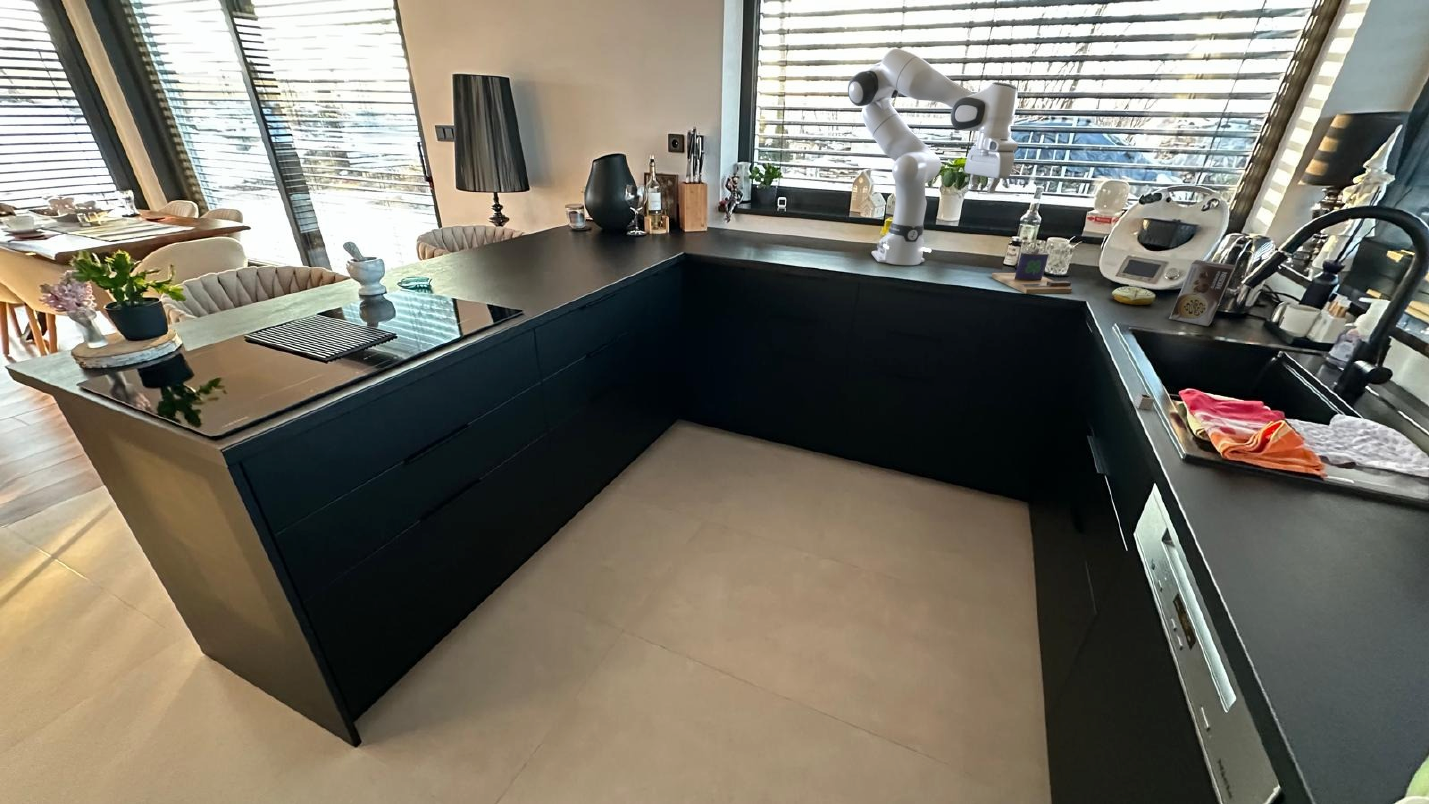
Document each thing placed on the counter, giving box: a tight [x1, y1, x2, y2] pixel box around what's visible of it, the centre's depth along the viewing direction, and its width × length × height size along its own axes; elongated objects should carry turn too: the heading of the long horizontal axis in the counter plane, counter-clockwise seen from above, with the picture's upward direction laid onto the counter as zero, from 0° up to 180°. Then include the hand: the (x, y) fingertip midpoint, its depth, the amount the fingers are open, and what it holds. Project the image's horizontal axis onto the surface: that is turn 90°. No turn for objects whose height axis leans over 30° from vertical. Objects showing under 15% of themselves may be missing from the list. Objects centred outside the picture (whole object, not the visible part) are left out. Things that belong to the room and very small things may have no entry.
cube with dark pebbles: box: [1133, 393, 1156, 411], centre depth 109 cm, size 2×2×2 cm
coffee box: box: [1168, 259, 1237, 327], centre depth 154 cm, size 9×6×16 cm
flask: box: [1015, 247, 1050, 281], centre depth 186 cm, size 9×3×11 cm, turn 91°
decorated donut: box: [1111, 286, 1156, 306], centre depth 173 cm, size 10×11×4 cm
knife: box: [1022, 280, 1072, 287], centre depth 182 cm, size 2×16×1 cm, turn 97°
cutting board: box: [990, 272, 1073, 295], centre depth 188 cm, size 20×16×2 cm
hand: (981, 191), depth 176 cm, fingers open, 8 cm apart
